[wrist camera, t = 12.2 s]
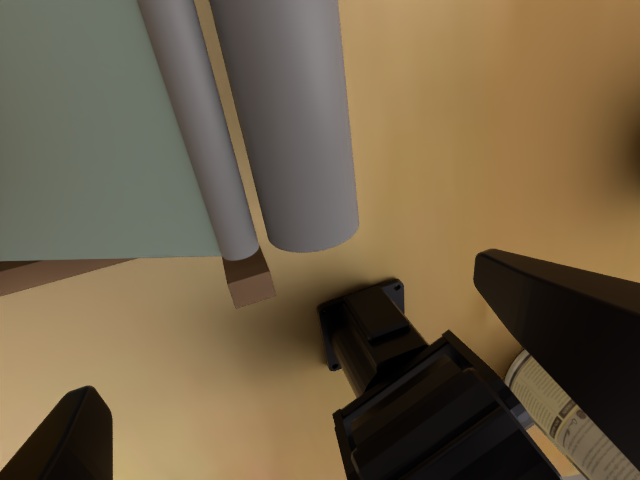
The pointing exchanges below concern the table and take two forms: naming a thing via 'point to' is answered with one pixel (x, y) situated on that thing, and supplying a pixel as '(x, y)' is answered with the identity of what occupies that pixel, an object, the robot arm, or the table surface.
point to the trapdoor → (170, 129)
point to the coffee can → (566, 423)
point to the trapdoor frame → (242, 275)
